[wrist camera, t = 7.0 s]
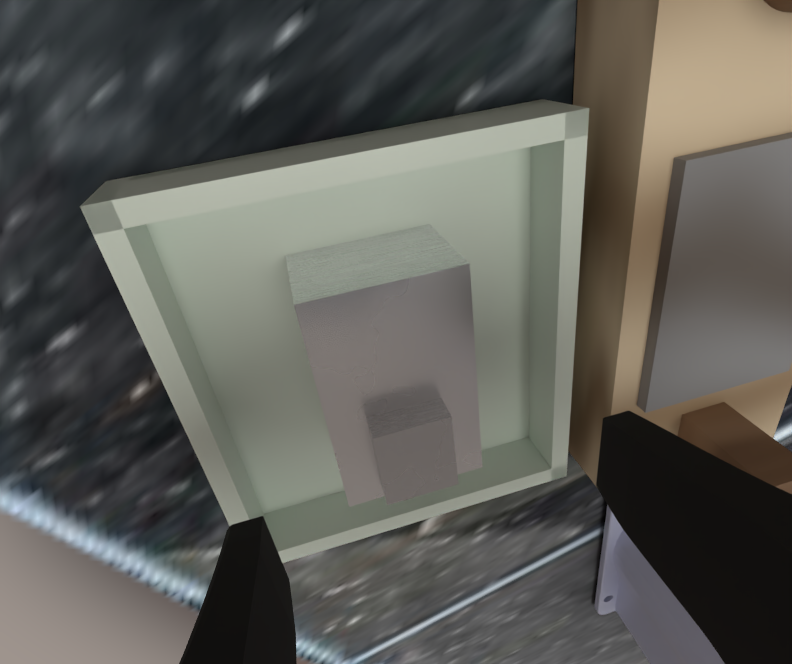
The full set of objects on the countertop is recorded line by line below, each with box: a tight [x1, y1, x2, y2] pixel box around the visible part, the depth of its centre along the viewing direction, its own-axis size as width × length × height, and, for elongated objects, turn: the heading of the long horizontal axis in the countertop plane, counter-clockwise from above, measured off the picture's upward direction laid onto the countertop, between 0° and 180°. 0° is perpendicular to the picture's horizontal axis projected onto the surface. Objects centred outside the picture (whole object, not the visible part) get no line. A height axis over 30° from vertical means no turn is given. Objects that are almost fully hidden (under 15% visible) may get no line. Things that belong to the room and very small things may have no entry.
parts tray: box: [80, 99, 589, 563], centre depth 15 cm, size 12×11×2 cm
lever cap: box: [285, 224, 483, 507], centre depth 14 cm, size 6×4×4 cm, turn 8°
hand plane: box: [568, 0, 792, 494], centre depth 13 cm, size 18×7×6 cm, turn 8°
